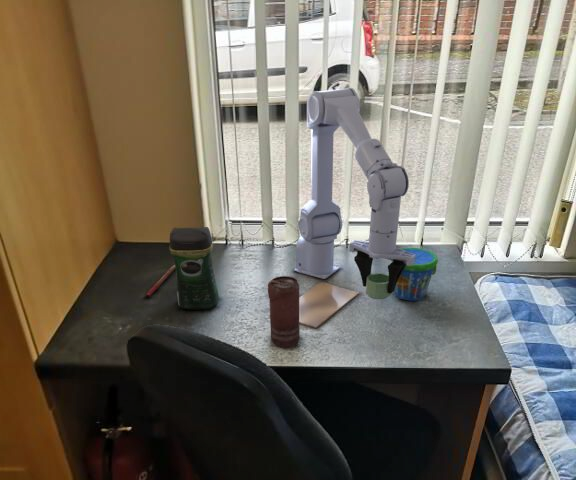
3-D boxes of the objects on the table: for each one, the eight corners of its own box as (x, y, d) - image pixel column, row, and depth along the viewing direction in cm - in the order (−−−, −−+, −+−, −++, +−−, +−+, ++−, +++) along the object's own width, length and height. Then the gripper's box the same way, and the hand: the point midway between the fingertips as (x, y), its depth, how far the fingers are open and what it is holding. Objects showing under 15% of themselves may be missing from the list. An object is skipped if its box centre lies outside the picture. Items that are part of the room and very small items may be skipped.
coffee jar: (220, 295, 140) (213, 221, 129) (217, 311, 134) (209, 234, 123) (181, 296, 140) (170, 222, 129) (175, 311, 134) (164, 235, 123)
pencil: (149, 298, 139) (148, 294, 139) (145, 297, 140) (144, 294, 139) (178, 266, 154) (177, 262, 154) (174, 265, 154) (174, 262, 154)
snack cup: (417, 279, 146) (422, 241, 140) (448, 294, 139) (455, 255, 133) (370, 295, 139) (373, 256, 133) (400, 312, 132) (405, 271, 126)
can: (268, 334, 125) (266, 275, 117) (297, 332, 125) (297, 274, 117) (270, 349, 120) (268, 289, 112) (300, 347, 120) (300, 287, 112)
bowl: (361, 296, 127) (362, 279, 124) (372, 286, 130) (373, 270, 128) (383, 302, 124) (385, 286, 122) (394, 292, 128) (396, 276, 125)
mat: (275, 315, 132) (275, 314, 131) (320, 283, 145) (320, 281, 145) (316, 328, 126) (316, 327, 126) (358, 293, 140) (359, 292, 140)
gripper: (343, 227, 119) (340, 286, 127) (408, 242, 112) (400, 303, 120) (359, 217, 124) (356, 275, 132) (422, 230, 117) (414, 290, 125)
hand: (378, 288), depth 126 cm, fingers closed on bowl, 5 cm apart
